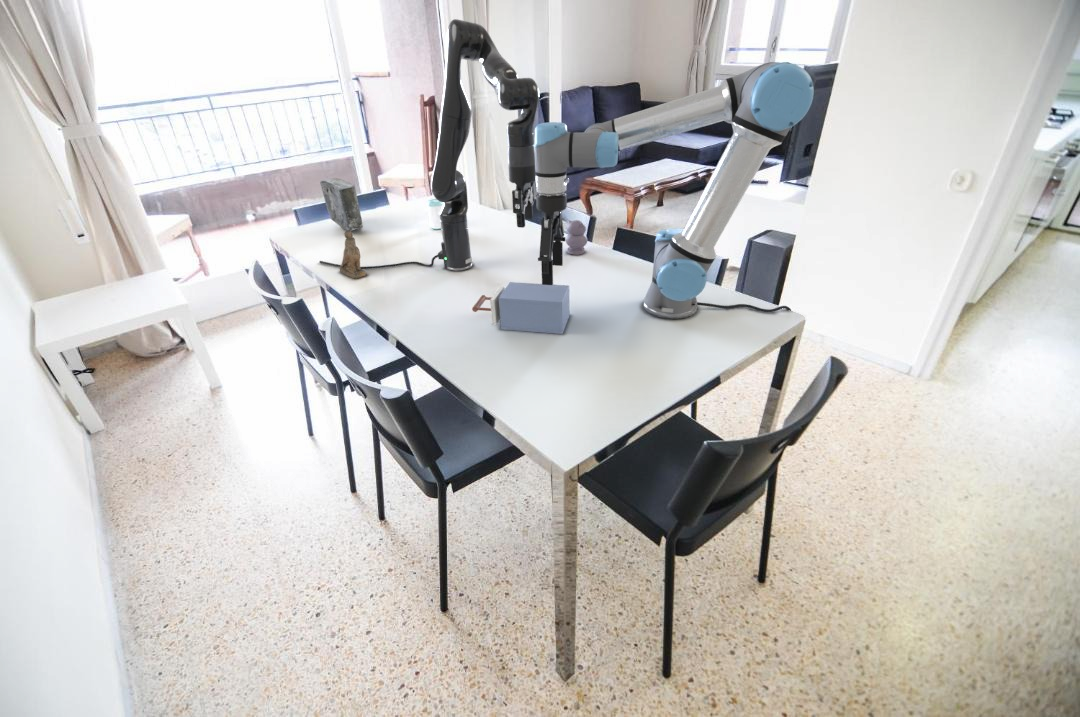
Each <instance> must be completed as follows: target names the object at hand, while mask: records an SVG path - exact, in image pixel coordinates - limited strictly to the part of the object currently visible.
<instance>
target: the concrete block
mask: <svg viewBox="0 0 1080 717" xmlns="http://www.w3.org/2000/svg"><path fill="white" fill-rule="evenodd" d="M319 183H320V187H321V191H322V195H323V198H324V199H323V200H324V202H325V206H326V209H327V212H328V216H329V218H330V220H332V221H333V222H334V223H336V224H337V225H338V226H339V227H341V228H342V229H343V230H345V231H348V230H350V231H352V232H353V231H354V230H358V229H361V228H363V227H364V224H363V218H362V214H361V210H360V205H359V204H360V203H359V200H358V195H357V194H358V193H357V189H356V186H355V185H354V184H353V183H351V182H350V181H347V180H345V179H341V178H336V177H332V178H327V179H322V180H320V182H319Z"/></svg>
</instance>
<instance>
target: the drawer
mask: <svg viewBox="0 0 1080 717" xmlns="http://www.w3.org/2000/svg"><path fill="white" fill-rule="evenodd" d="M505 288H506V287H505V285H500V286H499V287H498V288H497V290H496V291H495V293H494V294H493V295H492V297H491V296H486V295H485V294H482V295H481V296H480V297H479V299H478V300H477V301H476V302H475V304H474V305H473V306H472V308H471V310H472V312H474V313H476V312H478V311H482V312H483V311H486V312H490V313H491V322H492V325H494V326H496V325H498V323H499V322H500V321H501V319H500V308H499V297H500V296H501V294H502V293H503V291H504V290H505ZM485 301H489V302H490V303H489V304H490V307H482V305H484V303H485Z"/></svg>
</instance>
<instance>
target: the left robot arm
mask: <svg viewBox="0 0 1080 717" xmlns="http://www.w3.org/2000/svg"><path fill="white" fill-rule="evenodd" d="M445 37H446V38H445V60H444V61H445V62H444V84H443V92H442V93H443V94H442V101H441V108H440V116H439V131H438V132H439V133H438V138H437V149H436V155H435V162H434V166H433V171H432V175H431V180H430V181H431V182H430V189H431V193H432V195H433V197H434V199H437V200H438V201H440V202H443V207H442V209H441V211H440V214H439V215H440V223H441V229H440V230H441V235H442V242H441V243H440V246H441V250H440V251H439V252H437V254H436V255H434V256H433V257H432V258H431V261H430V262H431V263H430V264H424V263H422V262H419V261H405V262H398V263H391V264H390V263H389V264H384V265H371V266H368V265H367V266H360V268H361V269H362V270H370V269H382V268H383V269H384V268H391V267H399V266H404V265H405V266H406V265H412V264H413V265H419V266H423V267H427V268H428V267H430V268H431V267H433V265H434V262H435V260H436V259H438V260H442V261H443V267H444V269H445V270H449V271H454V272H459V271H467V270H469V269H471V268H472V266H473V258H472V250H471V242H470V234H469V224H468V216H467V213H468V209H469V202H468V201H469V200H468V187H467V182H466V179H465V177H464V175H463V174H462V172H460V171H459V170H457V167H458V162H459V159H460V156H461V154H462V152H463V149H464V147H465V144H466V143H467V140H468V138H469V135H470V130H471V123H472V122H471V121H472V115H473V110H472V105H471V102H470V100H469V97H468V95H467V92H466V89H465V87H464V84H463V80H462V75H461V72H462V70H461V66H462V60H464V61H471V62H480V63H481V70H482V75H483V77H484V79H485V81H486V82H487V83H488V84H489V85H490V86H491V87H492V88H493V90H494V92H495V95H496V98H497V102H498V104H499V105H498V106H500V107H501V108H502V109H503V110H506V111H520V110H521V112H520V114H519V116H518V117H517V118H515V119H513V120H510V121H509V122H508V123H507V125H506V138H507V140H506V141H507V167H508V181H509V182H510V183H512V184H515V189H513V190H511V197H512V198H511V200H512V213H513V214H515V215H516V216H515V217H516V227H517V228H522V229H523V228H525V227H526V220H533V218H534V209H533V206H534V203H535V201H536V194H535V182H536V178H535V174H536V171H535V150H534V145H535V122H536V116H537V115H536V114H537V110H538V106H539V101H540V90H539V86H538V83H537V82H536V80H534V78H531V77H518V72H517V71H516V69H515V68H514V67H513V66H512V65H511V64H510V63H509V62H508V61H507V60H506V58H504V57H503V56H502V54H501V53H500V52H499V50H498V48H497V46H496V45H495V42H494V41H493V39H492V37H491V36H490V34H489V32H488V30H487V29H486V28H485V26H483V25H481V24H480V23H475V22H473V21H466V20H462V19H457V18H454V19H451V21H450V22H449V24H448V27H447V31H446V36H445ZM318 263H320V264H323V265H327V266H332V267H337V268H340V266H341V264H337V263H332V262H327V261H323V260H319V262H318Z"/></svg>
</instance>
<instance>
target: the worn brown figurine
mask: <svg viewBox="0 0 1080 717" xmlns="http://www.w3.org/2000/svg"><path fill="white" fill-rule="evenodd" d="M343 236H344V238H346V239H345V240H344V249H343V253H342V254H343V255H342V261H341V264H340V265H341V266H340V267H339V273H341V274H343V275H344V276H347V277H350V278H352V279H356V280H357V279H360V278H362V277H366V276H367V273H366V271H365V269H361V268H360V267H361V252H360V249H359V247H358V246H357V244H356V243H357V242H356V239H355V237H354V234H353V230H352V231H350V230H348V231H347V230H345V232H344V234H343Z"/></svg>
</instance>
